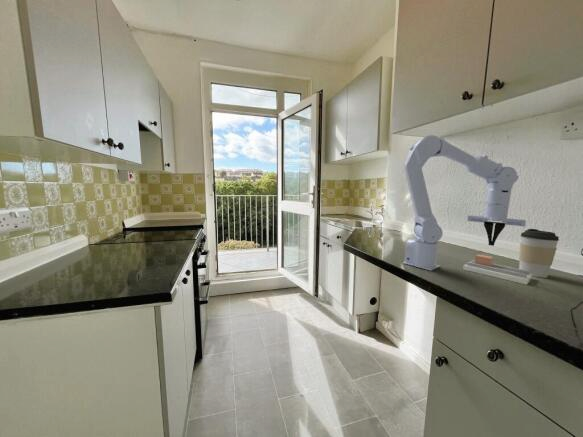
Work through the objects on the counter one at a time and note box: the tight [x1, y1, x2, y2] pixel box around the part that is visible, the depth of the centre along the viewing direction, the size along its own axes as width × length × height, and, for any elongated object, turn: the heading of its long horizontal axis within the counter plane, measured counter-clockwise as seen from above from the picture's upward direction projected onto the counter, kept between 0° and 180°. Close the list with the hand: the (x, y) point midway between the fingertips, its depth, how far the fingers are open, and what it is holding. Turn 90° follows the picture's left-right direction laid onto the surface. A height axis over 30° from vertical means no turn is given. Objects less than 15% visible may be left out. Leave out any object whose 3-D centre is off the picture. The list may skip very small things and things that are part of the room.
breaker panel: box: [462, 259, 533, 286], centre depth 79 cm, size 16×9×2 cm, turn 39°
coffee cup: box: [518, 228, 560, 279], centre depth 80 cm, size 9×9×15 cm
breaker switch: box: [474, 254, 494, 267], centre depth 82 cm, size 4×4×4 cm
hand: (491, 245), depth 80 cm, fingers closed
